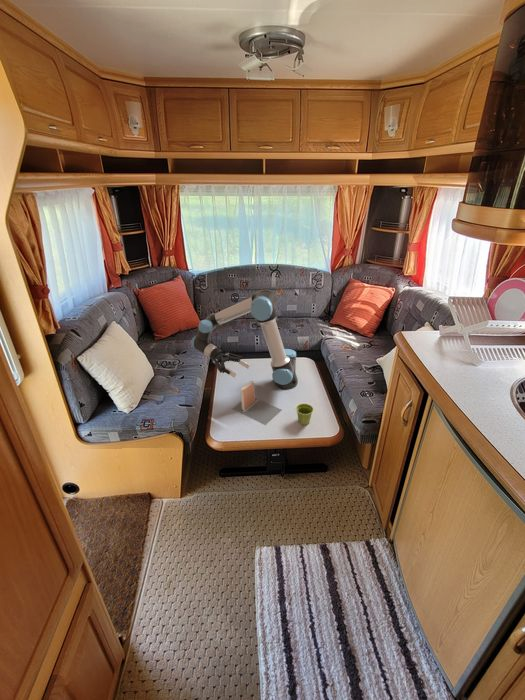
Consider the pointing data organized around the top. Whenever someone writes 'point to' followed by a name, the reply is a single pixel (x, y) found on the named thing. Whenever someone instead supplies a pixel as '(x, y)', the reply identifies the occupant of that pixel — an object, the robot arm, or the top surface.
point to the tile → (247, 395)
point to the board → (259, 411)
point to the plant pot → (304, 413)
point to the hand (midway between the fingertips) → (242, 371)
